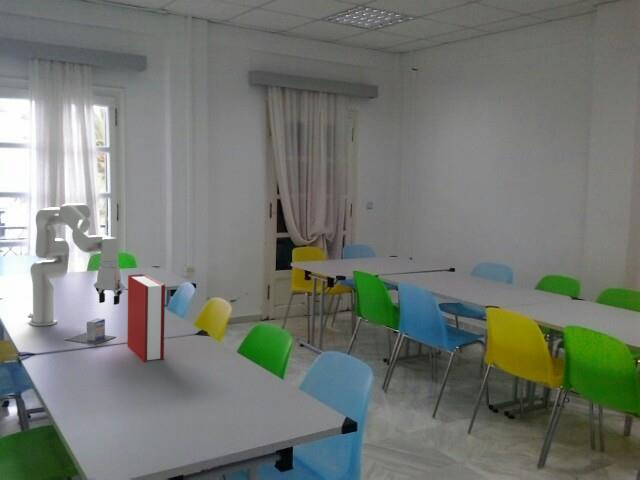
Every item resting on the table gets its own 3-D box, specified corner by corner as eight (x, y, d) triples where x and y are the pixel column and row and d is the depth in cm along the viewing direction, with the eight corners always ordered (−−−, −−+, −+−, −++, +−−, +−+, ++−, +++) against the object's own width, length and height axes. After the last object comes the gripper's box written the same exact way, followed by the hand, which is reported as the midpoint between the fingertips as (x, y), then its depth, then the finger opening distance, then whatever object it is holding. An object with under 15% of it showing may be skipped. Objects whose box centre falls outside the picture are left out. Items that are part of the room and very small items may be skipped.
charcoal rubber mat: (64, 340, 272) (64, 339, 272) (85, 333, 286) (85, 332, 286) (96, 345, 267) (96, 344, 267) (115, 337, 280) (116, 336, 280)
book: (163, 359, 250) (164, 284, 247) (144, 362, 246) (145, 285, 243) (144, 343, 273) (145, 274, 270) (126, 345, 269) (127, 275, 265)
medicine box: (94, 341, 271) (95, 322, 270) (86, 340, 272) (86, 321, 272) (105, 337, 279) (105, 318, 278) (96, 336, 280) (96, 318, 279)
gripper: (87, 264, 269) (87, 302, 271) (120, 267, 264) (120, 306, 265) (98, 262, 276) (98, 299, 278) (131, 265, 271) (130, 303, 273)
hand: (109, 303), depth 272 cm, fingers open, 7 cm apart
